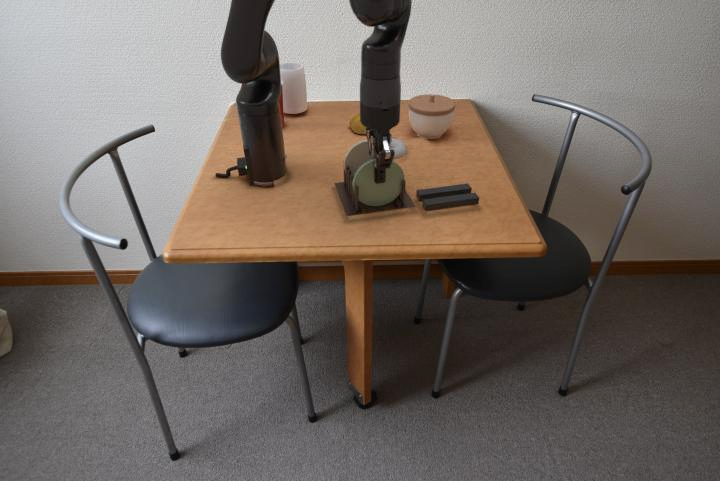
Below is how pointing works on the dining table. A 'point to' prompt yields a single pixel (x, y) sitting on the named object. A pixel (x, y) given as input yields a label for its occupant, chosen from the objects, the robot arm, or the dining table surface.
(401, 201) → the dish rack
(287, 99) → the cup
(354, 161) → the cream plate
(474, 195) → the plate stand
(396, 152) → the donut
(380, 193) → the sage plate
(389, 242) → the dining table surface
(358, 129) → the bread roll
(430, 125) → the lidded bowl
